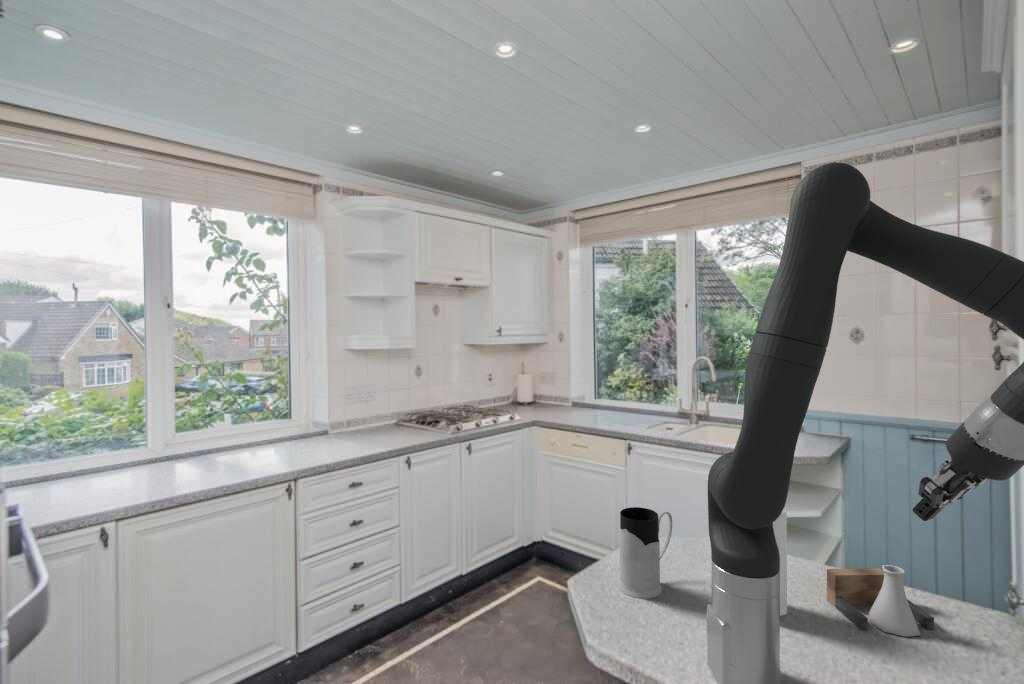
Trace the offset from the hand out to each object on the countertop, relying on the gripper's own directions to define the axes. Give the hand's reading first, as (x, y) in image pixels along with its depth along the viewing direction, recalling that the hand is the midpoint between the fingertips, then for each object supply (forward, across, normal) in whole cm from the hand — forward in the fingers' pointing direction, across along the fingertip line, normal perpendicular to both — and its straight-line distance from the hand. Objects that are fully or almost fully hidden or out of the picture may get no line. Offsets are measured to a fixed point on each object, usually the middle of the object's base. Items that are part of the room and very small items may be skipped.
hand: (921, 514), depth 76 cm
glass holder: (+39, +25, -18) cm, 49 cm away
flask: (+25, -5, +7) cm, 26 cm away
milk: (+31, +12, -4) cm, 33 cm away
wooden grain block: (+27, -6, +4) cm, 28 cm away
